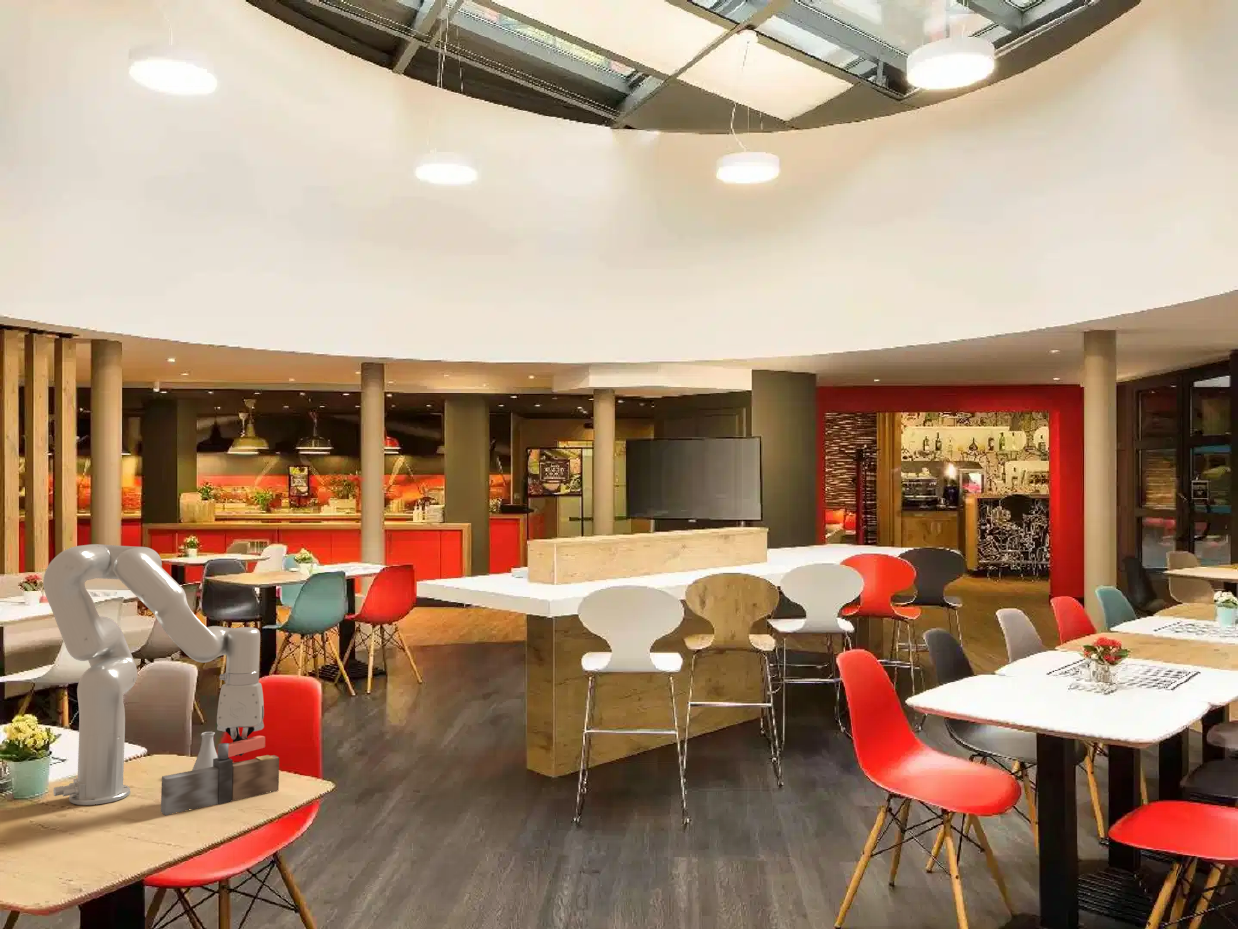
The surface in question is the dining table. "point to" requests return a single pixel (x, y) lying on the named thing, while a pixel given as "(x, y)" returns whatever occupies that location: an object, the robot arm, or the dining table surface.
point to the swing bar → (240, 747)
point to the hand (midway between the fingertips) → (239, 754)
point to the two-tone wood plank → (219, 783)
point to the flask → (206, 752)
